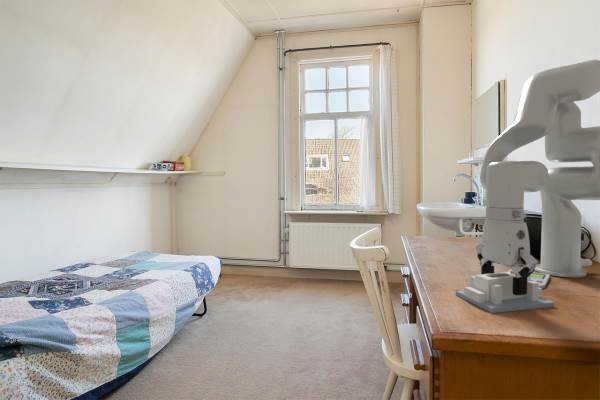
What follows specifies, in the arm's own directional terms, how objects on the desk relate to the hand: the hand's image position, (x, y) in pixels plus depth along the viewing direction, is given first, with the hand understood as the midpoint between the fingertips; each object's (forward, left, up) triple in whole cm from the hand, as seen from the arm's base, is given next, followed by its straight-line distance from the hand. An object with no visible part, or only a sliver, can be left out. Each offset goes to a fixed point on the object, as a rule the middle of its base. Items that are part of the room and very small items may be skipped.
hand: (502, 287), depth 81 cm
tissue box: (0, 0, -2) cm, 2 cm away
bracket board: (0, 0, -3) cm, 3 cm away
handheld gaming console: (-19, -13, -4) cm, 23 cm away
